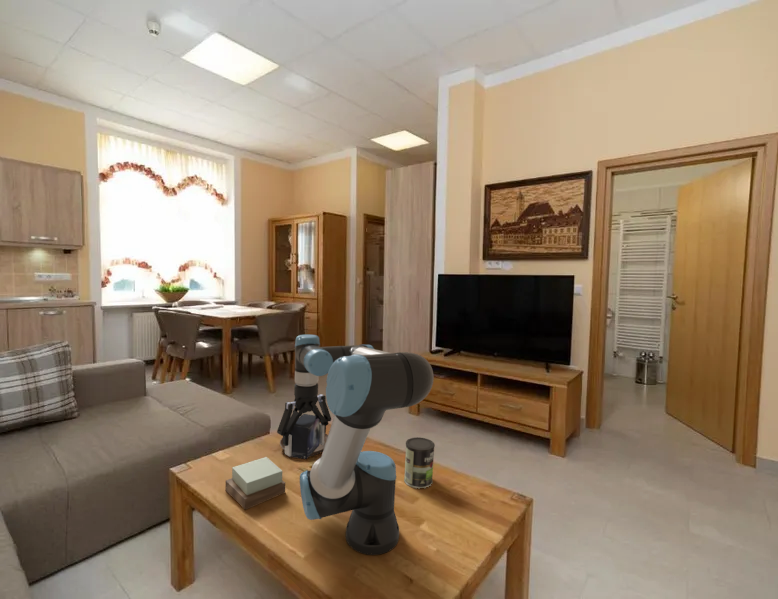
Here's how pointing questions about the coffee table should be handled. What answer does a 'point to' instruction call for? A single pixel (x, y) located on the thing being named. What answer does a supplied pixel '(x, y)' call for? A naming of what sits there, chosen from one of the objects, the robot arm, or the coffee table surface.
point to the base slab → (256, 497)
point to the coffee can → (419, 462)
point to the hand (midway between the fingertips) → (304, 448)
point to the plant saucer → (318, 449)
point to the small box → (305, 436)
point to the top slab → (256, 475)
